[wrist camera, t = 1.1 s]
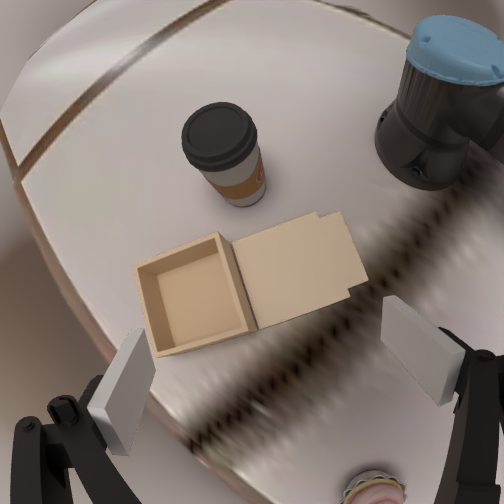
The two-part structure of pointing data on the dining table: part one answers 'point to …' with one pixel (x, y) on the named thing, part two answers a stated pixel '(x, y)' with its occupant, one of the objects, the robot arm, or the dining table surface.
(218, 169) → the coffee cup
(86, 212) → the dining table surface
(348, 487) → the cupcake
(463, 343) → the robot arm
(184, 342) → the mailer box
